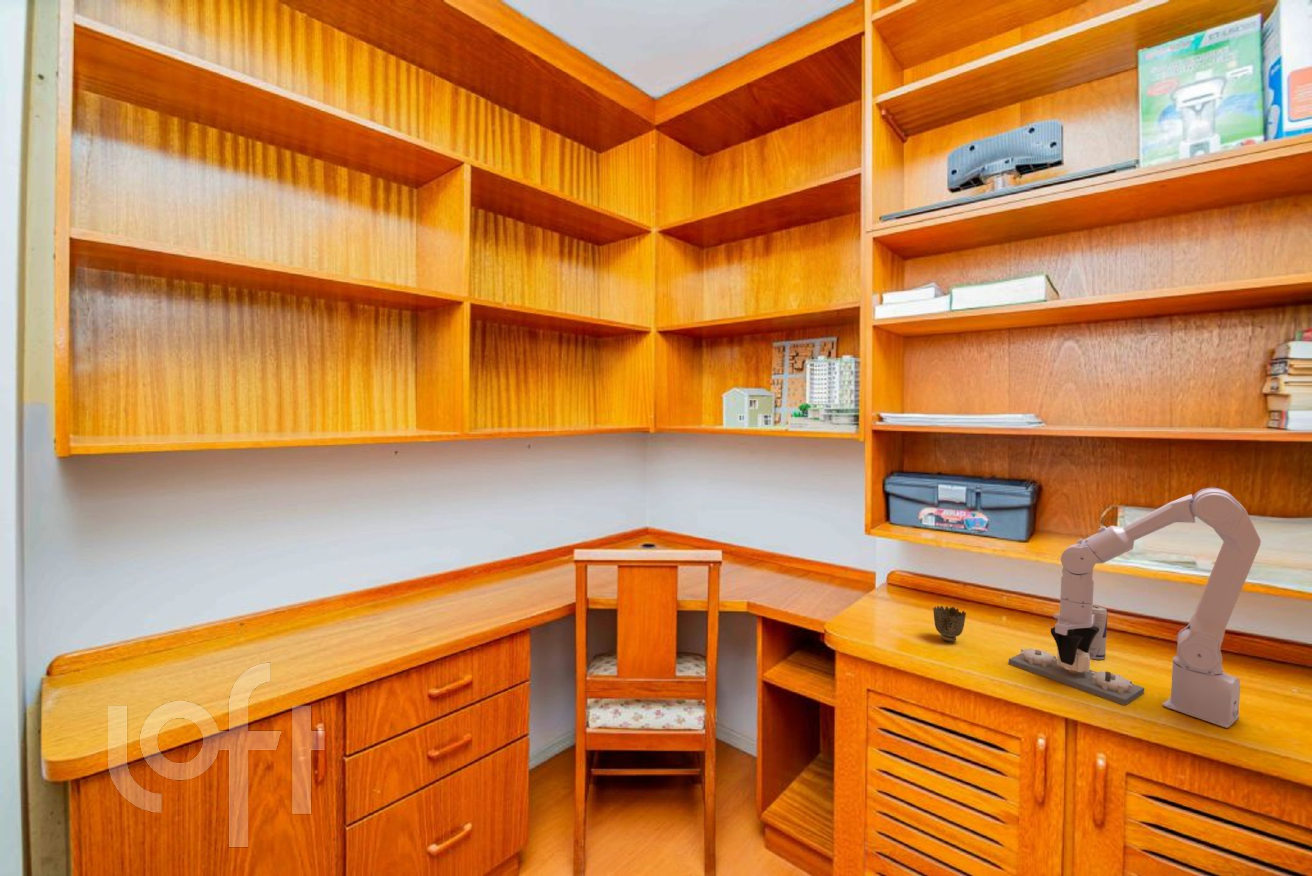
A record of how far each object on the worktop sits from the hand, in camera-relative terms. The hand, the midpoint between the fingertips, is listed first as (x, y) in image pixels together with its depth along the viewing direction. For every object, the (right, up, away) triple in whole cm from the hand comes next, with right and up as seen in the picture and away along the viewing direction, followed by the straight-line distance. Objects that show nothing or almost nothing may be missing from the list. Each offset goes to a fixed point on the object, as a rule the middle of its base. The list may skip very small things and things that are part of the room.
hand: (1073, 660), depth 125 cm
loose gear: (0, -1, 0) cm, 1 cm away
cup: (-17, -3, +20) cm, 27 cm away
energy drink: (+14, -4, +12) cm, 19 cm away
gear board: (0, -4, 0) cm, 4 cm away
